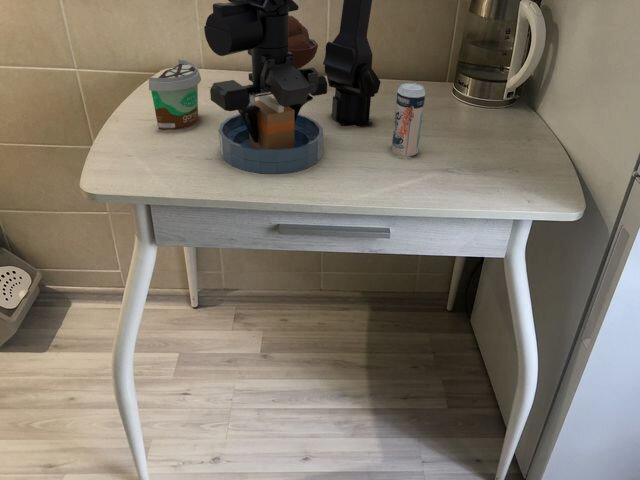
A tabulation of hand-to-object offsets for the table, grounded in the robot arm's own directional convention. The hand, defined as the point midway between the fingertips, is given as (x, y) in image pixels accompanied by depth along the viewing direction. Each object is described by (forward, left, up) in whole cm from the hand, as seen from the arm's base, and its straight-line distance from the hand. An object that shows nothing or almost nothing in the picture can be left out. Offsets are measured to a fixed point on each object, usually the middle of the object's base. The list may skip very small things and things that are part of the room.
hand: (271, 138), depth 101 cm
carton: (0, 0, -2) cm, 2 cm away
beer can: (-23, +5, -3) cm, 24 cm away
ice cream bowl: (-13, -32, -3) cm, 35 cm away
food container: (+12, -16, -3) cm, 20 cm away
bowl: (0, 0, -3) cm, 3 cm away
